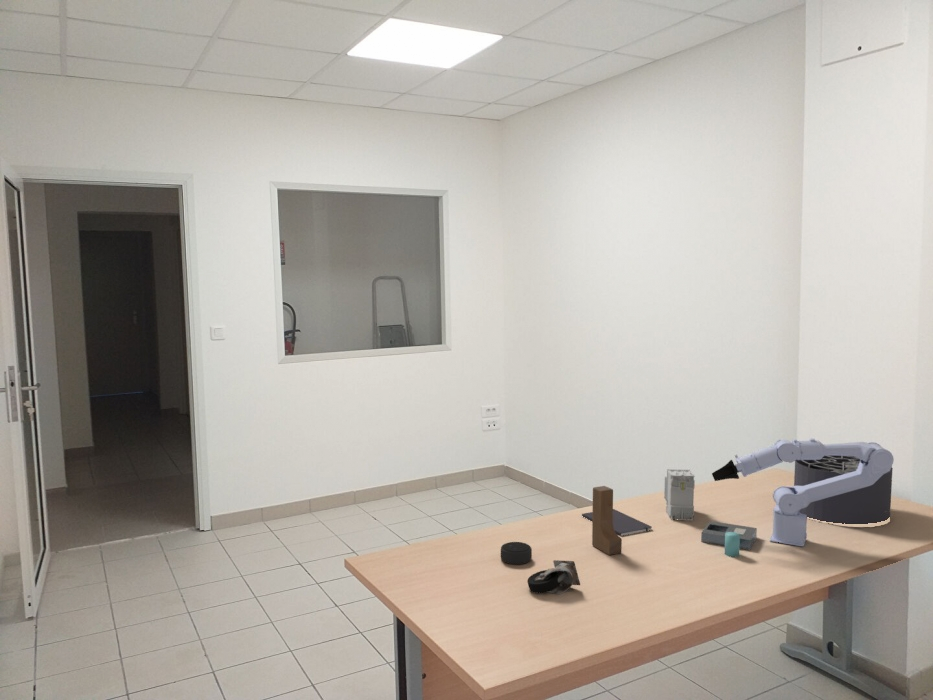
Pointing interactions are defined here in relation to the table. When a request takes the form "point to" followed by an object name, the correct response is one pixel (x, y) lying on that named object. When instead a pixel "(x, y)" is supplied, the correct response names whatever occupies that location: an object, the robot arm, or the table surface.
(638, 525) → the notebook
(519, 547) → the smart speaker
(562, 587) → the caster wheel
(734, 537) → the barrel peg
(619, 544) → the wooden block
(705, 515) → the table surface
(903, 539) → the table surface
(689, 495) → the circuit breaker
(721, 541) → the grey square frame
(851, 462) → the ventilation fan
